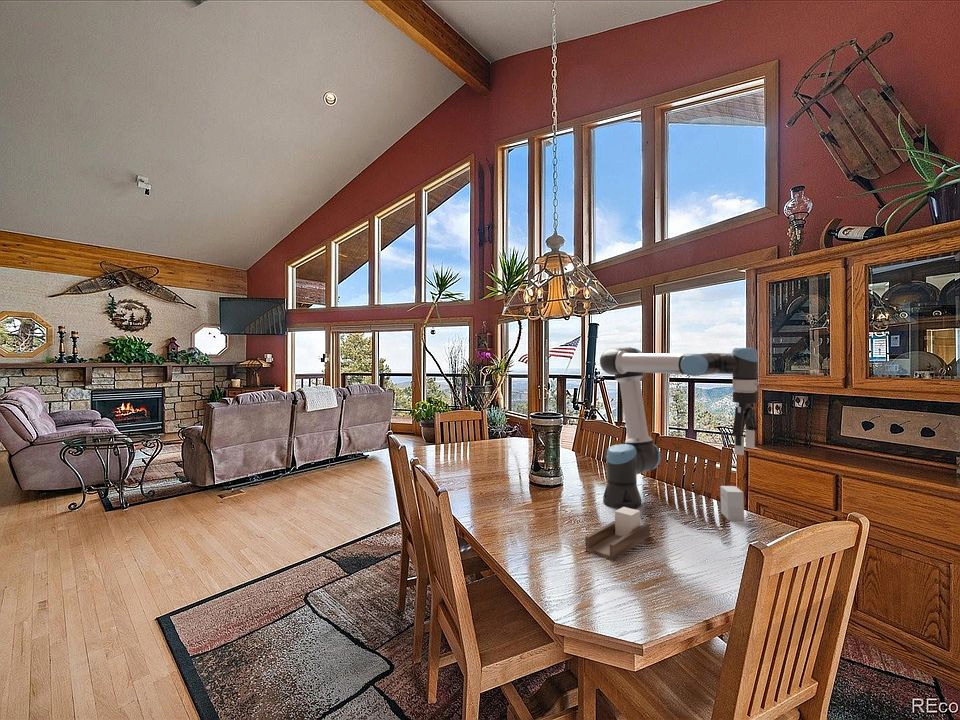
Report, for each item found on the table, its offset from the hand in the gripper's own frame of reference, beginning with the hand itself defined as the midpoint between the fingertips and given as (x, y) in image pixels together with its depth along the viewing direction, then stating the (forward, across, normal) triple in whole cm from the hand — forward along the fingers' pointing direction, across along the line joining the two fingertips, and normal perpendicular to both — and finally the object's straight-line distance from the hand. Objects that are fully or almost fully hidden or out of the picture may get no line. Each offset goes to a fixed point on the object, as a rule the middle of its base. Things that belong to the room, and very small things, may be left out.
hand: (744, 451), depth 159 cm
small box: (+27, +6, +6) cm, 28 cm away
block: (+26, -37, +26) cm, 52 cm away
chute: (+27, -43, +26) cm, 57 cm away
